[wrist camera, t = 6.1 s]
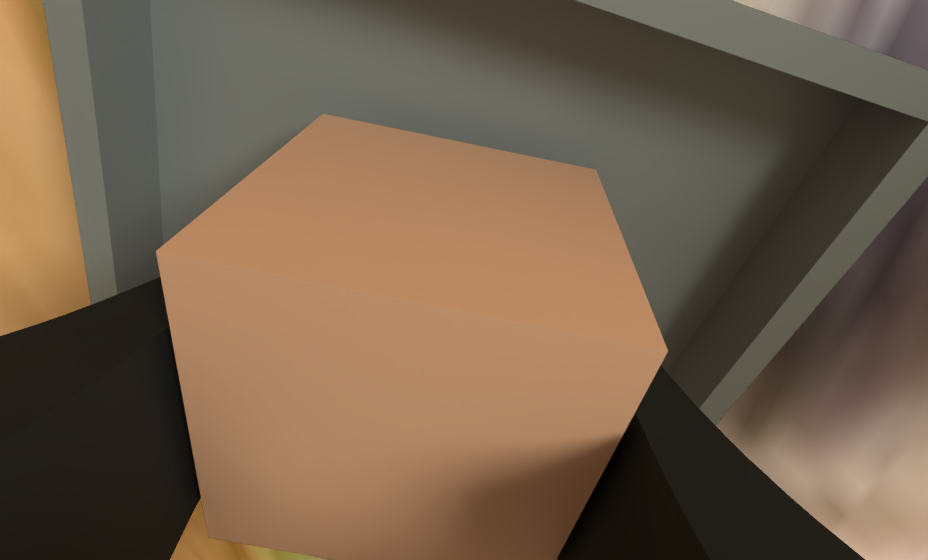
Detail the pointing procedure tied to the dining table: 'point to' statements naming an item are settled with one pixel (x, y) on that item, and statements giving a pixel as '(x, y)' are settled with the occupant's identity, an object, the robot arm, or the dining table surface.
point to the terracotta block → (405, 347)
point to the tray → (518, 134)
